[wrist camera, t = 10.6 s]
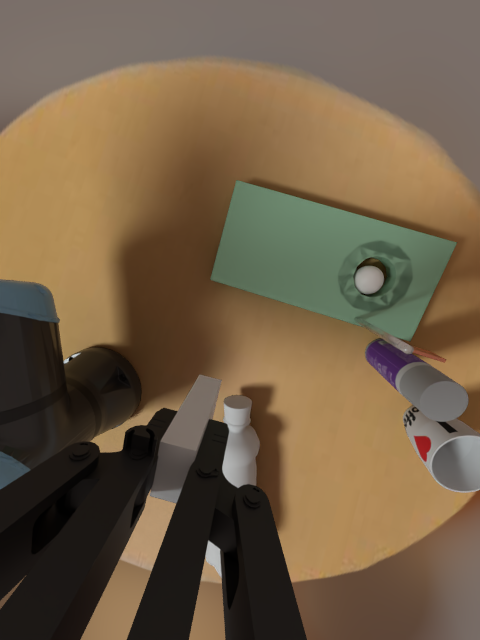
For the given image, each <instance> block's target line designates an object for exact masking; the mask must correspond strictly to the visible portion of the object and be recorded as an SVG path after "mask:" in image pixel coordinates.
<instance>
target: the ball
mask: <svg viewBox="0 0 480 640" xmlns="http://www.w3.org/2000/svg"><path fill="white" fill-rule="evenodd" d="M353 279H354V286H355V288H356V289H357V290H358V291H359V292H360V293H362V294H372V293H375V292H376V291H378V290H379V289H380V288H381V287H382V285H383V282H384V276H383V273H382V271H381V270H380V269H379V268H377V267H375V266H364V267H361V268H360V269H358V270H357V271H356V272H355V274H354V276H353Z"/></svg>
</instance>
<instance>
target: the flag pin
mask: <svg viewBox="0 0 480 640" xmlns="http://www.w3.org/2000/svg"><path fill="white" fill-rule="evenodd" d="M354 320H355V322H357V323H358V324H360V325H362V326H363V327H365V328H366V329H368V330H369V331H371V332H373V333H374V334H376V335H377V336H379V337H381V338H382V339H384V340H385V341H387V342H388V343H390V344H392V345H393V346H395V347H396V348H398V349H399V350H401V351H403V352H404V353H406V354H412V353H415V354H419V355H422V356H425V357H428V358H431V359H435V360H438V361H441V362H444V363H445V361H446V359H444V358H442V357H440V356H438V355H436V354H435V353H433V352H430V351H427V350H424V349H421V348H418V347H414V346H411V345H408V344H407V343H405V342H403V341H401V340H399V339H398V338H396V337H394V336H392V335H390V334H389V333H387V332H385V331H383V330H381V329H380V328H378V327H376V326H374V325H372V324H371V323H369V322H367V321H365V320H363V319H362V318H360V317H355V318H354Z"/></svg>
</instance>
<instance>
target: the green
mask: <svg viewBox="0 0 480 640" xmlns="http://www.w3.org/2000/svg"><path fill="white" fill-rule="evenodd" d="M456 244H457V243H456V242H453V241H449V240H446V239H442V238H439V237H435V236H432V235H428V234H425V233H421V232H418V231H414V230H411V229H407V228H404V227H400V226H397V225H393V224H390V223H386V222H383V221H379V220H376V219H372V218H368V217H365V216H361V215H358V214H354V213H351V212H347V211H344V210H340V209H337V208H333V207H330V206H326V205H323V204H319V203H316V202H312V201H309V200H305V199H302V198H298V197H295V196H291V195H288V194H284V193H280V192H277V191H273V190H270V189H266V188H263V187H259V186H256V185H252V184H249V183H245V182H242V181H238V180H236V184H235V188H234V191H233V195H232V199H231V203H230V206H229V210H228V214H227V218H226V222H225V225H224V229H223V233H222V237H221V241H220V244H219V248H218V252H217V256H216V260H215V263H214V267H213V271H212V275H211V279H210V280H213V281H216V282H219V283H222V284H226V285H229V286H232V287H235V288H239V289H242V290H245V291H248V292H252V293H255V294H258V295H261V296H264V297H268V298H271V299H274V300H277V301H281V302H284V303H287V304H290V305H294V306H297V307H300V308H303V309H307V310H310V311H313V312H316V313H319V314H323V315H326V316H329V317H332V318H336V319H339V320H342V321H345V322H349V323H352V324H355V325H358V326H361V327H363V326H362V325H360V324H358V323H357V322H355V320H354V318H355V317H360V318H362V319H363V320H365V321H367V322H369V323H371V324H372V325H374V326H376V327H378V328H380V329H381V330H383V331H385V332H387V333H389V334H390V335H392V336H394V337H397V338H400V339H404V340H407V341H411V339H412V337H413V335H414V333H415V331H416V328H417V326H418V324H419V322H420V320H421V318H422V316H423V314H424V312H425V309H426V307H427V305H428V303H429V301H430V299H431V297H432V295H433V293H434V290H435V288H436V286H437V284H438V282H439V280H440V278H441V276H442V274H443V271H444V269H445V267H446V265H447V263H448V261H449V259H450V257H451V255H452V252H453V250H454V248H455V246H456ZM370 257H372V258H375V259H378V260H380V261H381V262H382V264H383V265H384V266H385V267H386V274H387V278H386V280H385V283H384V285H383V287H382V288H381V289H379V290H378V291H377V292H376V293H374V294H369V295H365V296H364V295H361V293H360V292H359V291H358V290H357V289H356V288H355V286H354V279H353V275H354V273H355V270H356V268H357V266H358V265H359V264H360V263H361V262H363V261H364V260H365V259H366V258H370Z"/></svg>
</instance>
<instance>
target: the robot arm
mask: <svg viewBox="0 0 480 640" xmlns="http://www.w3.org/2000/svg"><path fill="white" fill-rule="evenodd" d="M59 322H60V319H59V318H58V317H57V313H56V309H55V304H54V299H53V295H52V293H51V291H50V290H49V289H48V288H47V287H45V286H44V285H41V284H39V283H34V282H25V281H14V280H1V279H0V600H1V599H2V598H3V597H4V596H5V595H6V594H7V593H8V592H10V591H11V590H12V588H14V587H15V586H16V585H17V584H18V583H19V582H20V581H21V580H22V579H23V578H24V577H25V576H26V577H25V578H24V579H23V580H22V582H21V583H20V584H19V586H18V587H17V588H16V590H15V591H14V592H13V594H12V595H11V596H10V598H9V599H8V600H7V602H6V603H5V604H4V605H3V607H2V608H1V609H0V640H80V639H81V637H82V635H83V633H84V631H85V629H86V627H87V625H88V623H89V621H90V619H91V617H92V615H93V613H94V610H95V608H96V606H97V604H98V602H99V600H100V598H101V596H102V594H103V592H104V590H105V588H106V586H107V584H108V582H109V580H110V578H111V575H112V573H113V571H114V569H115V567H116V565H117V563H118V561H119V559H120V557H121V555H122V553H123V551H124V549H125V547H126V545H127V543H128V541H129V538H130V536H131V534H132V532H133V530H134V528H135V526H136V524H137V522H138V520H139V518H140V516H141V514H142V512H143V510H144V507H145V503H146V498H147V495H148V493H149V491H150V489H151V493H150V496H152V497H155V498H159V499H162V500H166V501H170V502H173V503H177V504H176V506H175V509H174V512H173V515H172V517H171V520H170V523H169V526H168V528H167V531H166V534H165V536H164V539H163V542H162V545H161V547H160V550H159V553H158V556H157V558H156V561H155V564H154V567H153V569H152V572H151V575H150V578H149V581H148V583H147V586H146V589H145V591H144V594H143V597H142V599H141V602H140V605H139V608H138V610H137V613H136V616H135V619H134V622H133V624H132V627H131V630H130V632H129V635H128V638H127V640H189V635H190V631H191V626H192V620H193V615H194V610H195V605H196V600H197V595H198V590H199V585H200V580H201V575H202V570H203V565H204V560H205V555H206V550H207V545H208V541H210V542H211V543H212V544H214V545H215V546H217V547H218V548H219V549H220V559H221V575H222V589H223V606H224V620H225V621H224V622H225V638H226V640H307V638H306V635H305V631H304V627H303V624H302V620H301V617H300V613H299V609H298V605H297V602H296V598H295V595H294V591H293V587H292V583H291V580H290V576H289V573H288V569H287V565H286V562H285V558H284V554H283V551H282V547H281V543H280V540H279V536H278V532H277V529H276V525H275V521H274V518H273V514H272V511H271V507H270V503H269V500H268V498H267V496H266V494H265V493H264V492H263V491H262V489H260V488H259V487H257V486H255V485H251V484H246V485H242V486H240V487H239V488H238V487H236V486H234V485H233V484H231V483H230V482H229V481H228V480H227V479H226V478H225V476H224V474H223V470H222V466H223V461H224V456H225V451H226V446H227V441H228V436H229V428H228V425H227V424H226V423H223V422H219V421H215V420H212V418H213V415H214V410H215V406H216V402H217V398H218V394H219V389H220V385H221V381H222V380H219V379H216V378H212V377H208V376H204V375H200V374H199V376H198V378H197V380H196V381H195V383H194V385H193V386H192V388H191V390H190V391H189V393H188V395H187V397H186V398H185V400H184V402H183V403H182V405H181V407H180V409H179V410H178V411H174V410H171V409H167V408H163V409H161V410H159V411H157V412H156V413H155V415H154V416H153V417H152V419H151V420H150V422H149V423H148V424H147V426H144V425H140V426H134V427H132V428H130V429H128V430H127V431H126V432H125V438H124V445H123V449H122V451H119V452H112V453H100V450H99V446H97V445H96V444H95V443H92V442H90V441H91V440H92V439H93V438H94V437H96V436H98V435H100V434H102V433H104V432H106V431H108V430H110V429H113V428H116V427H118V426H120V425H121V424H123V423H124V422H125V421H126V420H127V419H128V418H129V417H130V416H131V415H132V414H133V413H134V412H135V411H136V409H137V407H138V405H139V403H140V399H141V385H140V381H139V378H138V375H137V373H136V371H135V370H134V368H133V367H132V365H131V364H130V363H129V362H128V361H127V360H126V359H125V358H124V357H123V356H121V355H120V354H118V353H116V352H114V351H112V350H110V349H106V348H101V347H92V348H87V349H84V350H81V351H79V352H77V353H75V354H73V355H71V356H69V357H68V358H67V359H66V360H65V361H64V362H63V355H62V347H61V340H60V333H59V325H58V323H59Z"/></svg>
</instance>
